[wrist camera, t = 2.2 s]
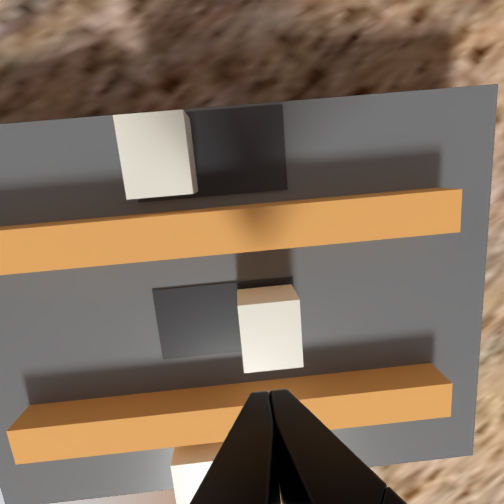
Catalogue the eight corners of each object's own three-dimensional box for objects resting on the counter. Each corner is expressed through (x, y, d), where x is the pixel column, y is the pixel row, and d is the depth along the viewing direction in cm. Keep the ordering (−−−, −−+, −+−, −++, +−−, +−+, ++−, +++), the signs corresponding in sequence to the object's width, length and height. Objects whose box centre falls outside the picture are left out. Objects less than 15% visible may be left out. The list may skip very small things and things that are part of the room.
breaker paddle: (291, 284, 12) (299, 299, 11) (295, 344, 13) (303, 366, 11) (237, 289, 12) (237, 305, 11) (242, 349, 13) (244, 373, 11)
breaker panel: (445, 102, 15) (538, 69, 10) (433, 409, 18) (500, 487, 13) (-35, 141, 14) (-163, 125, 9) (45, 451, 17) (-22, 548, 13)
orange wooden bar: (430, 362, 14) (452, 383, 12) (430, 393, 14) (450, 416, 13) (29, 405, 13) (6, 431, 12) (37, 435, 14) (15, 464, 12)
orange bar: (437, 187, 12) (462, 189, 11) (435, 225, 13) (459, 232, 11) (-17, 228, 12) (-50, 235, 10) (-7, 266, 12) (-37, 278, 11)
